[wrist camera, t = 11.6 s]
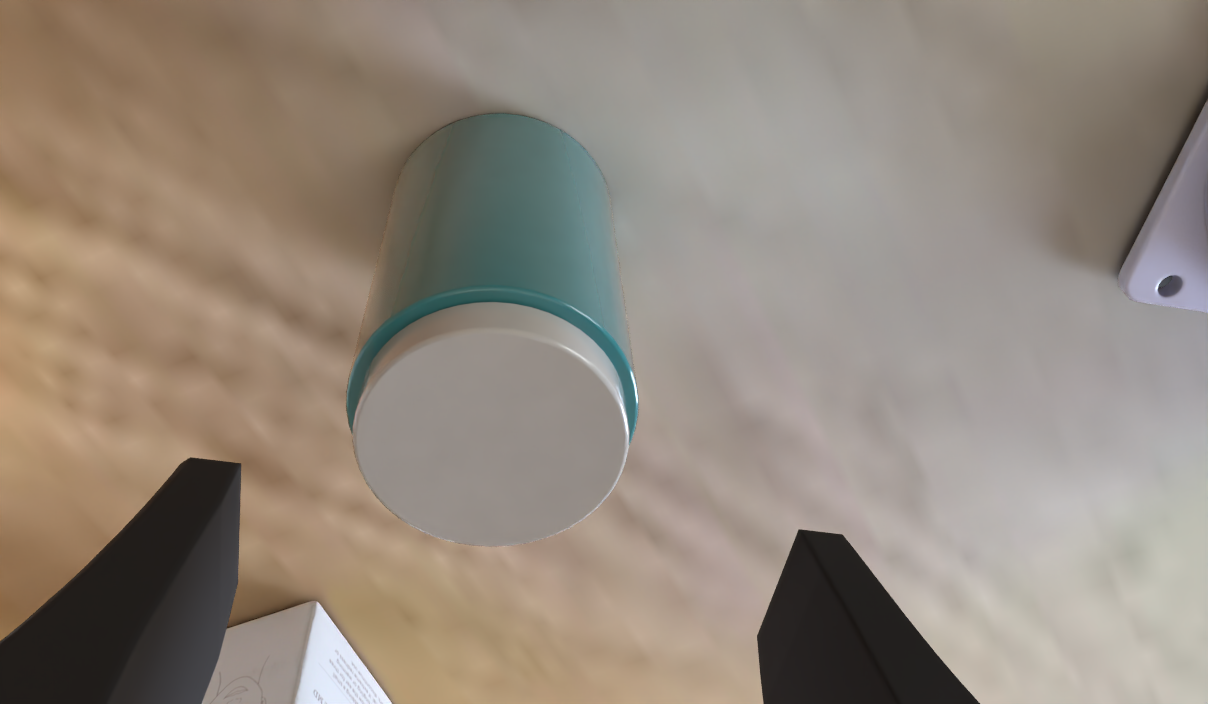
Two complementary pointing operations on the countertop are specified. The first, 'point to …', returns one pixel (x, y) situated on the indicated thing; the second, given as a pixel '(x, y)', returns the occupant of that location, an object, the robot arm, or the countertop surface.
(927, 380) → the countertop surface
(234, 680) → the small box
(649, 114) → the countertop surface
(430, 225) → the salt shaker
